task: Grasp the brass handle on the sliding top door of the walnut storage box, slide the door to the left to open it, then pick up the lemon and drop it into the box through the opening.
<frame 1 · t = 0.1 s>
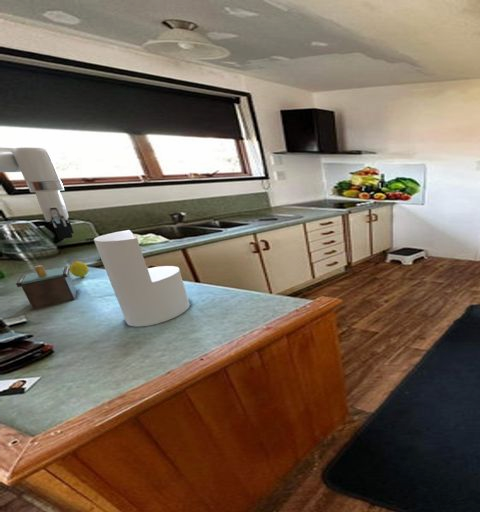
hand: (67, 235, 97), 25 cm above the counter, tool pointing down, fingers open, 9 cm apart
lemon: (82, 277, 126), on the counter
slide door: (42, 270, 101), point 12 cm above the counter, slide at 0.0 cm
storage box: (56, 299, 105), on the counter
white stepped drum: (160, 312, 93), on the counter
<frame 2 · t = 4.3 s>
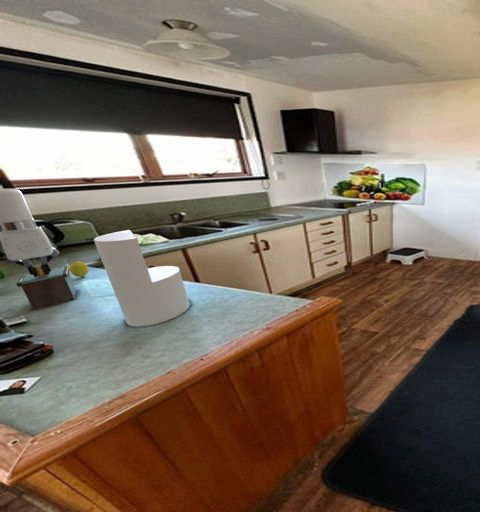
hand: (42, 274, 99), 11 cm above the counter, tool pointing down, fingers closed on slide door, 2 cm apart
slide door: (42, 270, 101), point 12 cm above the counter, slide at 0.0 cm, touching gripper
everything else where it was.
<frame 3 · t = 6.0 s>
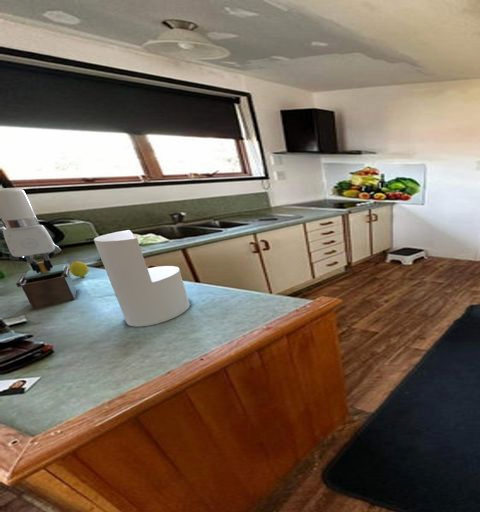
hand: (44, 270, 103), 11 cm above the counter, tool pointing down, fingers closed on slide door, 2 cm apart
slide door: (44, 266, 105), point 12 cm above the counter, slide at 6.0 cm, touching gripper
everything else where it was.
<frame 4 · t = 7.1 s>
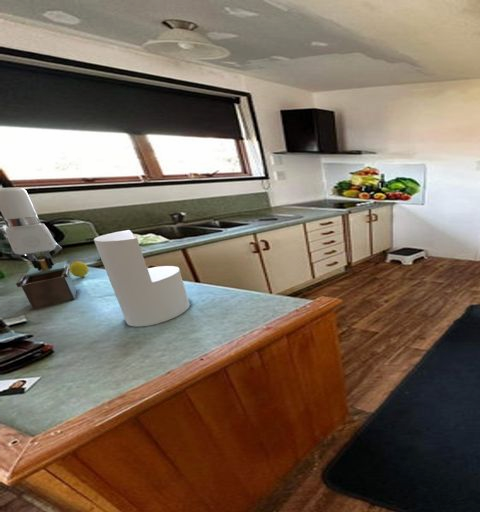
hand: (45, 268, 106), 11 cm above the counter, tool pointing down, fingers closed on slide door, 2 cm apart
slide door: (45, 264, 107), point 12 cm above the counter, slide at 9.9 cm, touching gripper
everything else where it was.
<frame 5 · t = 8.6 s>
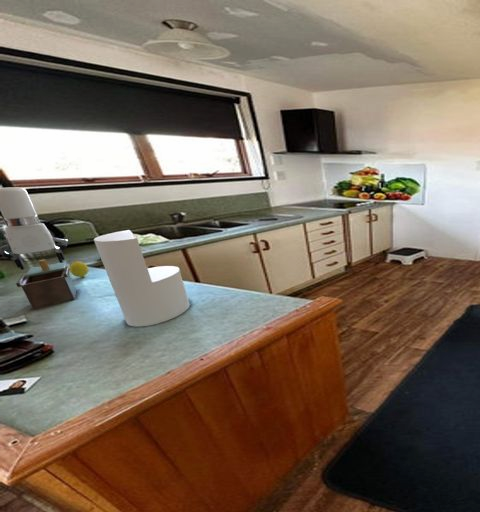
hand: (43, 265, 105), 13 cm above the counter, tool pointing down, fingers open, 9 cm apart
slide door: (45, 264, 107), point 12 cm above the counter, slide at 9.8 cm
everything else where it was.
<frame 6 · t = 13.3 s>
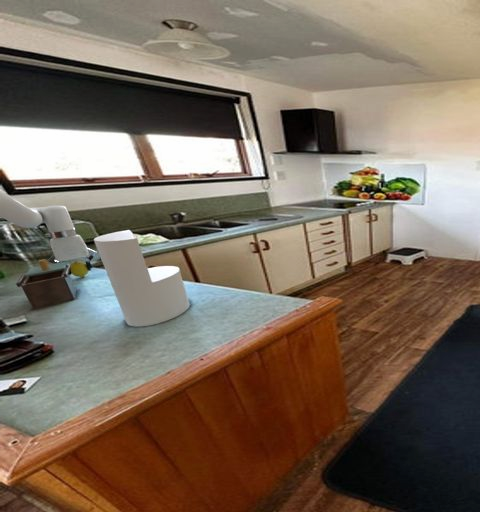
hand: (80, 271, 125), 3 cm above the counter, tool pointing down, fingers closed on lemon, 5 cm apart
lemon: (82, 277, 126), on the counter, touching gripper
everything else where it was.
when the fingers open (12 cm above the counter, at t = 20.0 s): lemon drops 8 cm, resting on storage box.
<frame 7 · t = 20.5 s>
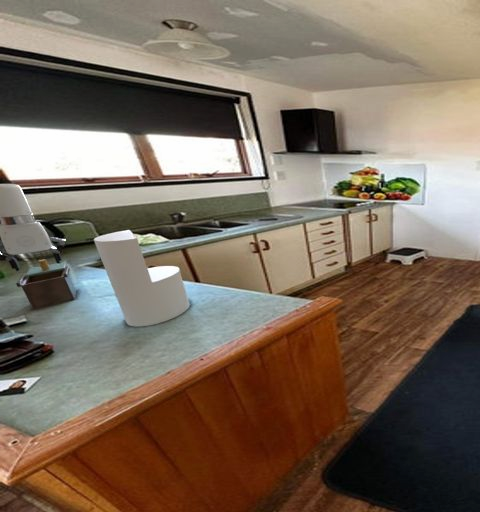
hand: (39, 266, 100), 14 cm above the counter, tool pointing down, fingers open, 9 cm apart
lemon: (53, 297, 104), point 1 cm above the counter, touching storage box
everything else where it was.
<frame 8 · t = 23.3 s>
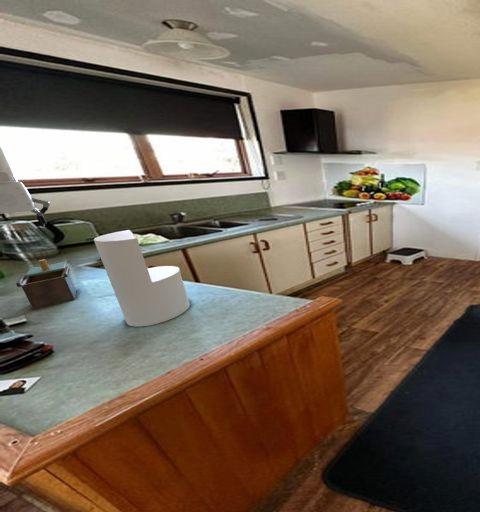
hand: (22, 228, 95), 28 cm above the counter, tool pointing down, fingers open, 9 cm apart
nothing on the counter moved.
at the end: slide door slide at 9.8 cm; lemon inside the target area on the storage box (0.5 cm from its centre), point 1.3 cm above the storage box's base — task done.
